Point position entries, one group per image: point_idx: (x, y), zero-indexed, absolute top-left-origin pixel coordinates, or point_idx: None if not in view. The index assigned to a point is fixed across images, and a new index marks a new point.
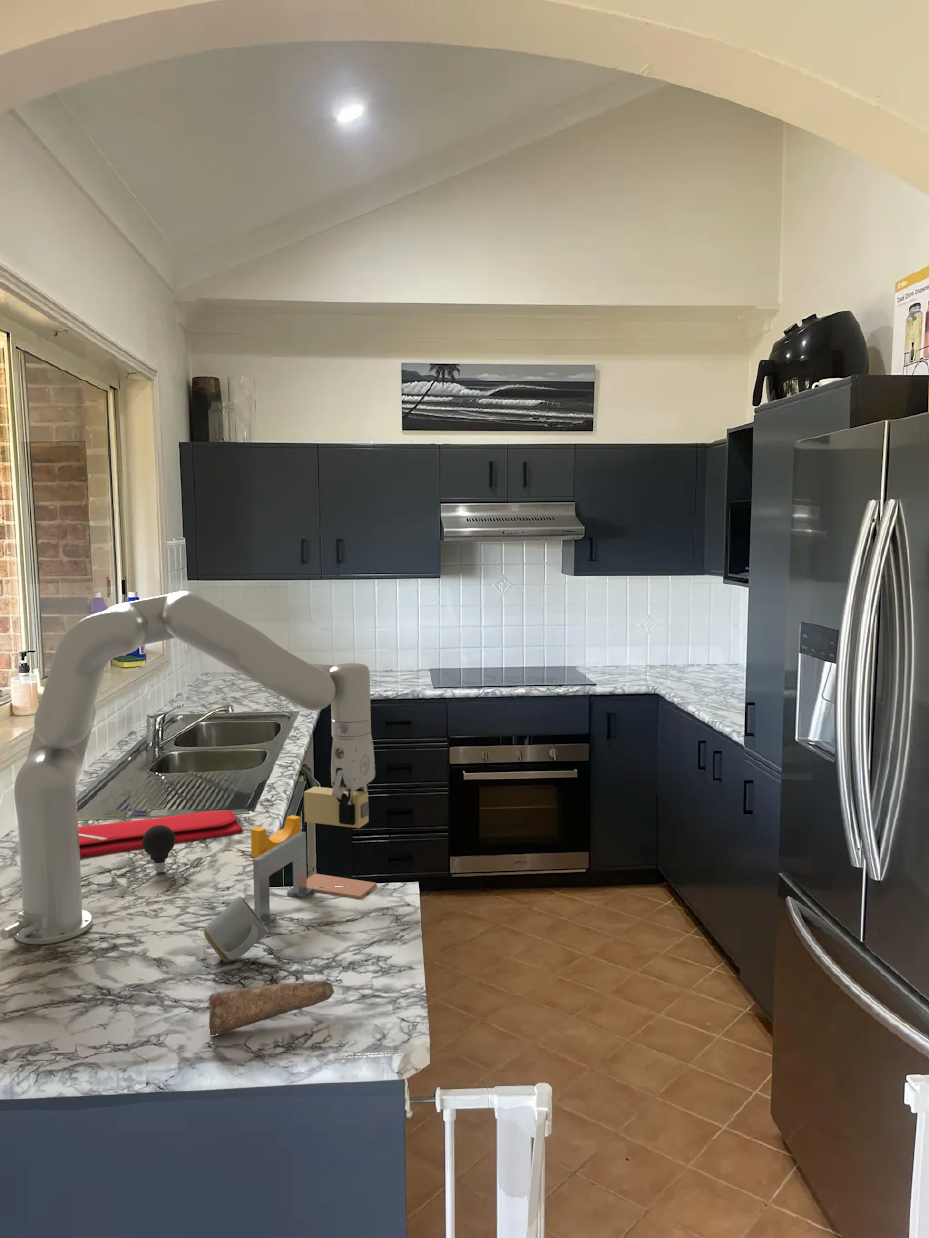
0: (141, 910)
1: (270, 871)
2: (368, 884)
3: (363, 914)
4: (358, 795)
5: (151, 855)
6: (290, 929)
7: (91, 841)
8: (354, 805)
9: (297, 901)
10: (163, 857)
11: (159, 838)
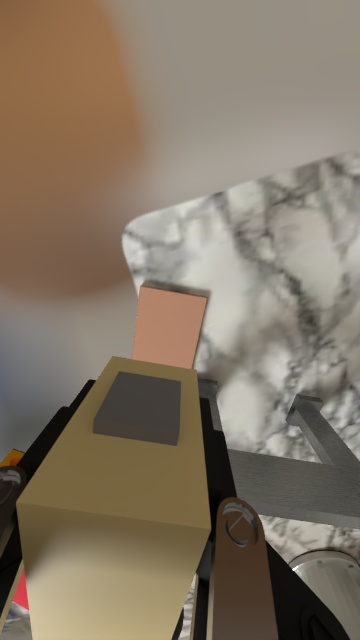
0: (272, 529)
1: (335, 472)
2: (150, 299)
3: (270, 272)
4: (144, 539)
5: None
6: (329, 366)
7: None
8: (208, 479)
9: (227, 388)
10: None
11: (177, 625)
